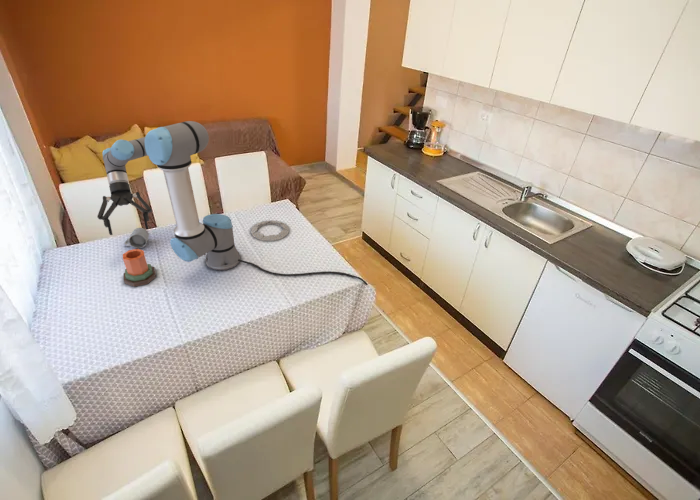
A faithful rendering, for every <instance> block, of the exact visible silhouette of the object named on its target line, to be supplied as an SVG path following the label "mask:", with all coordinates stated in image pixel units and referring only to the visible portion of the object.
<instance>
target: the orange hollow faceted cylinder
mask: <svg viewBox="0 0 700 500" xmlns="http://www.w3.org/2000/svg"><path fill="white" fill-rule="evenodd" d="M122 260H123V264H124V267H125V269H126V270H127V273H128V274H130V275H133V276H136V275H141V274H144V273H145V272H146V271H148V270H149V269H148V264H149V263H148V259H147V257H146V253H145V251H144V250H143V249H141V248H132V249H129V250H127V251H125V252H123V253H122Z"/></svg>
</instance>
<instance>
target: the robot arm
mask: <svg viewBox="0 0 700 500" xmlns="http://www.w3.org/2000/svg"><path fill="white" fill-rule="evenodd" d="M209 138H210V137H209V132H208V130H207V129H206V127H205V126H204V125H203V124H201V123H199V122H197V121H194V120H185V121H182V122H178V123H177V122H176V123H173V124H168V125H165V126H158V127H157V128H154V129H151V130H149V131H148V132H147V133H146V135H145V136H143V137H140V138H136V139H131V140H127V139H118V140H115V142H114V143H113V144H112V145H111V147H107V148H105V149H103V151H102V160H103V164H104V169H105V173H106V178H107V183H108V185H109V187H108V188H109V190H110V196H106V195H103V196H102V202H101V206H100V208H99V210H98V214H97V219H98V220H101V221H103V226H104V227H105V228H107V230H108V234H109V235H110V236H113V229H112V225H111V221H110V219H109V218H110V216H111V215H112V214H113V213H114V211H115V209H116V208H117V207H118V206H120V207H122V206H128V205H131V206H133V207H134V208H136V209H137V210H139V211H140V212H141V213H142V218H143V222H144V226H145V229H146V230H149V227H148V226H149V225H148V222H149V221H150V217H149V214H150V213H152V212H153V209H152V208H151V207H150V206H149V204H148V203H147V202H146V201H145V200H144V199H143V197H141V194H140V192H139V191H136V192H135V193H132V190H131V186H130V185H131V184H130V181H129V176H128V173H127V168H126V165H127V164H128V162H130V161H133V160H137V159H140V158H143V157H148V159H149V161H151V163H152V164H154V165H156V167H157V169H160V170H161V171H162V172H163V175H164V180H165V185H166V189H167V192H168V196H169V200H170V201H169V202H170V204H171V208H172V213H173V215H174V216H173V217H174V221H175V224H176V226H175V227H174V229H173V234H174V237H172V238H171V239H170V241H169V243H170V247H171V249H172V251H173V252H174V253H175V255H176V256H177V257H178V258H179V259H180V260H182V261H184V262H188V263H189V262H190V263H191V262H194V261H195V260H198V259H199V258H201V257H202V256H205V264H206V266H207V268H209V269H211V270H214V271H227V270H230V269H233V268H235V267H236V266H238V265H239V264H240V262H241V263H244V264H246V265H247V264H248V265H251V266H253V267H255V268H256V269H259V270H260V271H262V272H264V273H266V274H271V275H275V276H282V277H296V276H297V277H298V276H310V275H311V276H312V275H319V274H320V275H322V274H324V275H325V274H333V275H334V274H335V275H341V276H342V275H343V276H347V277H351V278H354V279H357V280H360V281H361V282H362V283H364V285H366V286H368V285H369V284H368V283H367V281H366V280H365V279H364V278H362V277H360V276H357V275H354V274H350V273H346V272H341V271H313V272H304V273H303V272H302V273H280V272H273V271H269V270H266V269H265V268H262V267H260V266H259V265H257V264H255V263H253V262H250V261H246V260H243V259H241V253H240V252H239V250H238V249H237V246H236V245H235V238H234V237H235V236H234V229H233V227H234V226H233V222H232V219H231V217H229V216H228V215H225V214H221V213H211V214H207V215H205V216H204V217H203V218H202V222H200V218H199V213H198V209H197V204H196V203H197V202H196V198H195V194H194V188H193V183H192V179H191V174H190V170H189V168H190V167H191V165H192V157H191V156H193V155H196V154H198V153H201V152H202V151H204V150H205V149H207V147H208V144H209V140H210V139H209ZM133 198H135V199H138V201H139V202H140V203H141V204H142V206H144V207H142V206H141V205H140V204H138V203H137V202H135V201H134V200H133ZM110 200H111V201H112V203H111V205H110V206H109V207H108V209H107V206H108V203H109V202H110ZM106 209H107V210H106Z"/></svg>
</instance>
